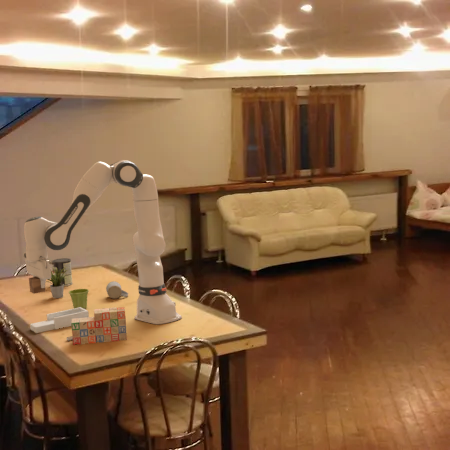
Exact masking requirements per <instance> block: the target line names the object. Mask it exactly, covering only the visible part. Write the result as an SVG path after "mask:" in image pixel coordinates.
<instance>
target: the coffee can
mask: <svg viewBox="0 0 450 450" xmlns="http://www.w3.org/2000/svg"><path fill="white" fill-rule="evenodd" d="M71 261H72V259H71V258H67V257H66V258H63V257H62V258H56V259H52V261H51V263H52V273H53V275H55V271H56V267H57V269H58V274H59V270H60V272H61V270H62V269H63V268H65V267H66V268H65V269H64V270H63V271H62V273H61V276H60V277H62V278H63V277H64V276H65V275H66V276H65V277H64V278H63V280H64V281H63V280H62V279H61V280H62V282H61V281H60V282H61V284H64V287H69V286H71V285H73V284H74V283H73V277H72V276H73V273H72V262H71ZM53 267H54V268H53ZM68 269H70V270H68ZM54 270H55V271H54ZM65 270H67V271H66V272H65ZM63 272H65V273H64V274H63ZM62 274H63V276H62ZM55 278H56V275H55ZM65 278H66V279H67V280H66V279H65Z"/></svg>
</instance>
